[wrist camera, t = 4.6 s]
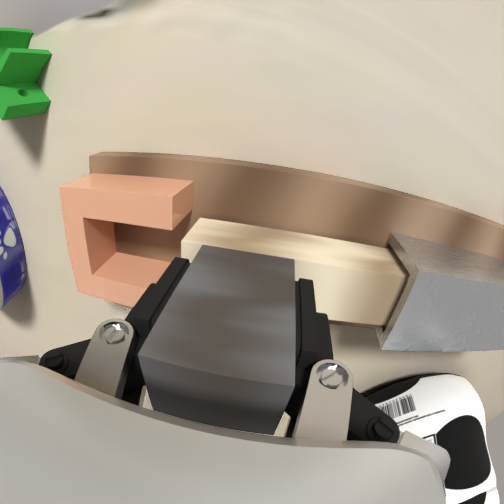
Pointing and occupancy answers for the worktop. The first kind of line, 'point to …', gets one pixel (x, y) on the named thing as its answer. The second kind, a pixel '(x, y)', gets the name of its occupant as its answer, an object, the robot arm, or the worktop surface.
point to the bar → (255, 318)
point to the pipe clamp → (20, 75)
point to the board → (292, 206)
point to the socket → (102, 230)
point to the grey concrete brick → (445, 299)
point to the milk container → (446, 430)
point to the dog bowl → (10, 253)
